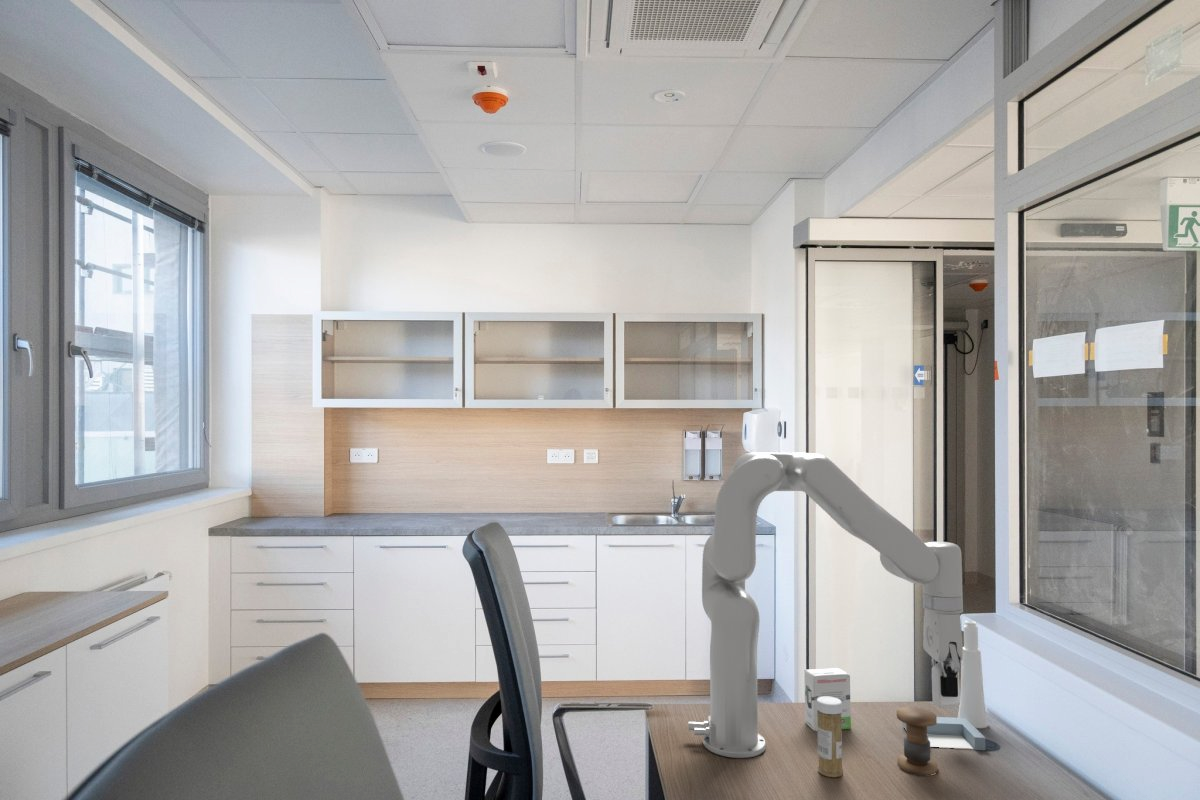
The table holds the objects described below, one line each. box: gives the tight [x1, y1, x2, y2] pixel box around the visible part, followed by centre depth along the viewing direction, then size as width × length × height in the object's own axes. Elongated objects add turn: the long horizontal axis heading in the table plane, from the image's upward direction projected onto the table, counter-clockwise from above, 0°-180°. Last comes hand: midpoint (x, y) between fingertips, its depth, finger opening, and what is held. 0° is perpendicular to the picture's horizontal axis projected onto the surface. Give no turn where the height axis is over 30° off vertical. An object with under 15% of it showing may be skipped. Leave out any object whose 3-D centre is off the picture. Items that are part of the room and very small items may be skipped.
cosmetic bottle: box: [957, 620, 989, 729], centre depth 159 cm, size 6×6×22 cm
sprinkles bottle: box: [817, 696, 844, 778], centre depth 136 cm, size 5×5×13 cm
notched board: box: [902, 716, 986, 751], centre depth 150 cm, size 13×10×2 cm
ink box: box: [803, 667, 852, 732], centre depth 157 cm, size 9×5×12 cm, turn 99°
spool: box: [896, 706, 939, 776], centre depth 138 cm, size 7×7×10 cm
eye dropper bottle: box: [931, 658, 961, 709], centre depth 149 cm, size 4×6×12 cm
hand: (945, 691), depth 149 cm, fingers closed on eye dropper bottle, 4 cm apart
